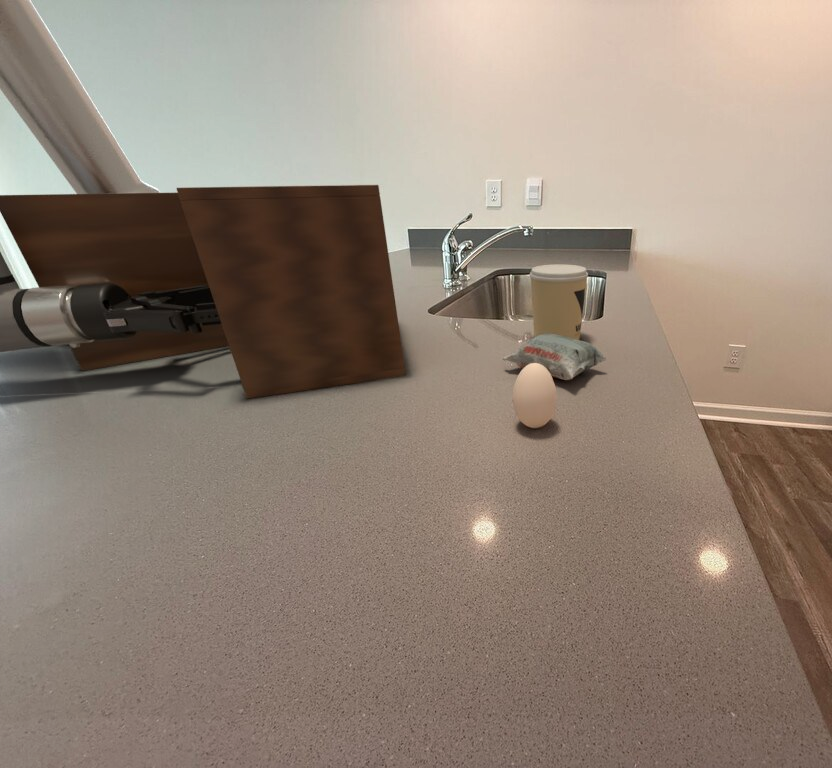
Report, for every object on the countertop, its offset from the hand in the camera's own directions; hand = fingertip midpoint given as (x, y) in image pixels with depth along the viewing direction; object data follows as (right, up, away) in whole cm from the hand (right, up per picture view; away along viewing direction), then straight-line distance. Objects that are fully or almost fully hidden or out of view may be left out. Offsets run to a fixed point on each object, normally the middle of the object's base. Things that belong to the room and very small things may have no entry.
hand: (266, 298), depth 60 cm
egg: (+39, -18, -15) cm, 45 cm away
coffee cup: (+44, -5, +10) cm, 46 cm away
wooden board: (+8, -8, +6) cm, 13 cm away
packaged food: (+42, -11, -3) cm, 44 cm away
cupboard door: (-19, -6, +10) cm, 23 cm away
